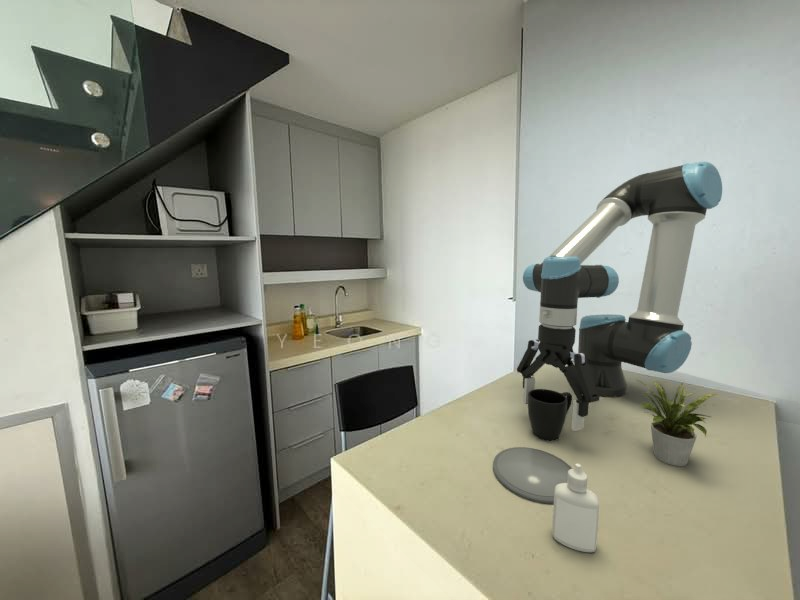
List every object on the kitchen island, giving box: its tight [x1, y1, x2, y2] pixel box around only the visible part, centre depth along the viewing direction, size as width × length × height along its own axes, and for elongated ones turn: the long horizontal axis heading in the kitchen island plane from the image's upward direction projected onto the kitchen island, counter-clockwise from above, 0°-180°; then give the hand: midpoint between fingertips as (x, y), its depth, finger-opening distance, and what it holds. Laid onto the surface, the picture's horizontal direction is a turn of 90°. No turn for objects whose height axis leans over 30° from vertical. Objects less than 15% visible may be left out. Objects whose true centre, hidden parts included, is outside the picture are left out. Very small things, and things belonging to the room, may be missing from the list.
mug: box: [527, 388, 573, 442], centre depth 74 cm, size 8×12×10 cm
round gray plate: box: [492, 446, 573, 505], centre depth 61 cm, size 15×15×1 cm
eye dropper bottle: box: [551, 463, 600, 553], centre depth 46 cm, size 4×6×12 cm
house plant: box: [631, 377, 718, 467], centre depth 65 cm, size 14×14×16 cm
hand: (551, 414), depth 74 cm, fingers open, 13 cm apart
